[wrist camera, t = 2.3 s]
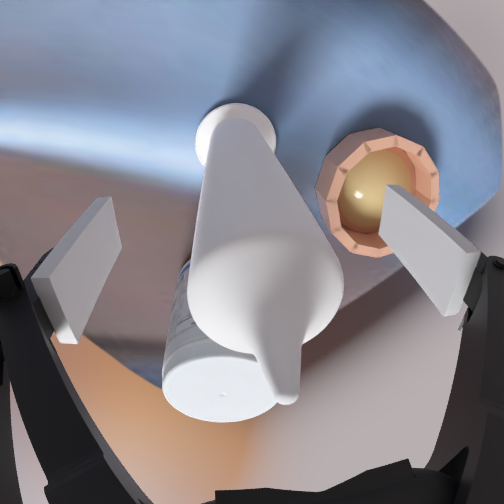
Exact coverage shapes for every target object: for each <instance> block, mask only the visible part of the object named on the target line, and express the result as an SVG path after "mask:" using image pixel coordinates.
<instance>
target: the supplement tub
mask: <svg viewBox="0 0 504 504" xmlns="http://www.w3.org/2000/svg"><path fill="white" fill-rule="evenodd" d="M190 263H191V259H190V260H189V261H188V262H187V263H186V264H185V265H184V266H183V268H182V269H181V271H180V274H179V276H178V281H177V285H176V291H175V296H174V301H173V306H172V312H171V318H170V324H169V330H168V336H167V342H166V348H165V354H164V362H163V369H162V377H163V383H162V389H163V393H164V396H165V397H166V399H167V401H168V402H169V403H170V404H171V405H172V406H173V407H174V408H176V409H177V410H179V411H180V412H182V413H184V414H186V415H188V416H190V417H193V418H196V419H200V420H205V421H211V422H235V421H241V420H245V419H249V418H252V417H255V416H258V415H260V414H262V413H264V412H266V411H267V410H269V409H270V408H271V407H273V406H274V405H275V404H276V403H277V401H276V400H275V398H274V396H273V394H272V392H271V390H270V388H269V385H268V383H267V381H266V379H265V377H264V375H263V372H262V370H261V368H260V366H259V364H258V362H257V359H256V357H255V356H254V355H253V354H249V353H242V352H238V351H234V350H231V349H228V348H226V347H223V346H221V345H220V344H218V343H216V342H215V341H213V340H212V339H210V338H209V337H208V336H207V335H206V334H205V333H204V332H203V331H202V330H201V329H200V328H199V327H198V326H197V324H196V323H195V321H194V319H193V317H192V315H191V312H190V309H189V305H188V300H187V286H188V278H189V270H190Z"/></svg>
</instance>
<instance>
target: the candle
mask: <svg viewBox="0 0 504 504" xmlns="http://www.w3.org/2000/svg"><path fill="white" fill-rule="evenodd" d="M195 148H196V153H197V156H198V158H199V160H200V162H201V164H202V165H203V166H204V167H205V170H204V176H203V182H202V188H201V194H200V201H199V207H198V213H197V220H196V227H195V234H194V241H193V248H192V255H191V263H190V270H189V278H188V286H187V300H188V305H189V309H190V312H191V315H192V317H193V319H194V321H195V323H196V324H197V326H198V327H199V328H200V329H201V330H202V331H203V332H204V333H205V334H206V335H207V336H208V337H209V338H210V339H212V340H213V341H215V342H216V343H218V344H220V345H221V346H223V347H226V348H228V349H231V350H234V351H238V352H242V353H249V354H253V355H254V356H255V357H256V359H257V362H258V364H259V366H260V368H261V370H262V372H263V375H264V377H265V379H266V381H267V383H268V385H269V388H270V390H271V392H272V394H273V396H274V398H275V400H276V401H277V402H278V403H280V404H283V405H288V404H292V403H294V402H295V401H296V400H297V399H298V396H299V387H300V367H301V346H302V344H303V343H305V342H307V341H308V340H310V339H312V338H313V337H315V336H316V335H317V334H318V333H320V332H321V331H322V330H323V329H324V328H325V327H326V326H327V325H328V324H329V322H330V321H331V320H332V318H333V317H334V315H335V314H336V312H337V310H338V308H339V306H340V303H341V300H342V297H343V291H344V277H343V272H342V267H341V265H340V262H339V260H338V258H337V256H336V254H335V252H334V251H333V249H332V247H331V245H330V244H329V242H328V240H327V239H326V237H325V235H324V233H323V232H322V230H321V228H320V227H319V225H318V223H317V222H316V220H315V218H314V217H313V215H312V213H311V212H310V210H309V208H308V207H307V205H306V203H305V202H304V200H303V199H302V197H301V195H300V194H299V192H298V190H297V189H296V187H295V186H294V184H293V182H292V181H291V179H290V178H289V176H288V175H287V173H286V171H285V170H284V168H283V167H282V165H281V164H280V162H279V160H278V159H277V157H276V156H275V154H274V153H275V149H276V134H275V130H274V127H273V125H272V123H271V122H270V120H269V119H268V118H267V116H266V115H265V114H263V113H262V112H261V111H260V110H258V109H257V108H255V107H253V106H250V105H247V104H242V103H230V104H225V105H222V106H219V107H217V108H215V109H214V110H212V111H211V112H210V113H208V114H207V115H206V116H205V118H204V119H203V120H202V121H201V123H200V125H199V127H198V129H197V132H196V137H195Z"/></svg>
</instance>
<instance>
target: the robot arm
mask: <svg viewBox="0 0 504 504" xmlns="http://www.w3.org/2000/svg"><path fill="white" fill-rule="evenodd" d="M378 235H379V236H380V237H381V238H382V239H383V240H384V242H385V243H386V244H387V245H388V246H389V248H390V249H391V250H392V251H393V252H394V254H395V255H396V256H397V257H398V258H399V260H400V261H401V262H402V263H403V265H404V266H405V267H406V268H407V269H408V271H409V272H410V273H411V275H412V276H413V277H414V278H415V280H417V282H418V284H419V285H420V286H421V287H422V289H423V290H424V291H425V293H426V294H427V295H428V297H429V298H430V299H431V301H432V302H433V303H434V305H435V306H436V307H437V309H438V310H439V311H440V313H441V314H442V316H443V317H445V316H449V315H454V314H458V312H459V310H460V307H461V305H462V303H463V301H464V302H465V303H466V304H467V306H468V308H467V311H466V313H465V315H464V317H463V320H462V322H461V324H460V326H459V328H458V330H461V328H462V327H463V331H462V338H461V344H460V350H459V356H458V361H457V366H456V371H455V375H454V380H453V384H452V389H451V393H450V397H449V401H448V405H447V409H446V412H445V416H444V420H443V423H442V426H441V430H440V433H439V436H438V439H437V442H436V445H435V448H434V451H433V454H432V456H431V458H430V460H429V462H428V463H427V465H426V466H425V468H412V467H411V465H410V462H409V459H405V460H402V461H398V462H395V463H392V464H388V465H385V466H382V467H378V468H375V469H370V470H367V471H365V472H363V473H361V474H359V475H357V476H355V477H353V478H351V479H349V480H347V481H345V482H343V483H340V484H338V485H336V486H334V487H332V488H330V489H327V490H325V491H322V492H305V491H291V490H281V489H271V488H259V489H243V490H221V491H220V490H219V491H218V490H217V491H215V500H213V501H209V502H205V503H202V504H504V259H503V258H501V257H497V256H489V257H486V256H485V255H484V254H483V253H482V252H481V251H480V250H479V249H478V248H476V246H474V245H473V244H472V243H471V242H470V241H469V240H468V239H466V238H465V237H464V236H463V235H462V234H461V233H459V232H458V231H457V230H456V229H455V228H453V227H452V226H451V225H450V224H449V223H447V222H446V221H445V220H444V219H443V218H441V217H440V216H439V215H438V214H436V213H435V212H434V211H433V210H431V209H430V208H429V207H428V206H426V205H425V204H424V203H422V202H421V201H420V200H419V199H417V198H416V197H415V196H413V195H412V194H411V193H409V192H408V191H407V190H405V189H404V188H403V187H401V186H400V185H386V189H385V196H384V203H383V209H382V216H381V222H380V228H379V233H378ZM121 249H122V245H121V241H120V237H119V232H118V227H117V223H116V218H115V213H114V208H113V202H112V197H111V196H109V197H100V198H96V199H95V201H94V202H93V203H92V204H91V205H90V206H89V207H88V208H87V209H86V211H85V212H84V213H83V214H82V215H81V216H80V217H79V218H78V220H77V221H76V222H75V223H74V224H73V225H72V227H71V228H70V229H69V230H68V231H67V232H66V234H65V235H64V236H63V237H62V238H61V240H60V241H59V242H58V243H57V245H56V246H55V247H54V248H52V249H51V250H49V251H48V252H47V253H45V254H44V255H43V256H42V257H41V259H40V260H39V261H38V263H37V264H36V265H35V266H34V268H33V269H32V270H31V271H30V273H29V274H28V275H27V277H26V278H25V279H24V281H23V280H22V277H21V275H20V272H19V270H18V267H17V266H16V264H12V263H10V264H5V265H2V266H0V504H23V502H22V498H21V493H20V488H19V483H18V477H17V471H16V464H15V457H14V448H13V440H12V429H11V414H10V382H11V385H12V388H13V392H14V395H15V399H16V402H17V404H18V408H19V411H20V414H21V417H22V420H23V422H24V425H25V428H26V430H27V433H28V436H29V438H30V441H31V443H32V446H33V448H34V451H35V453H36V455H37V458H38V460H39V462H40V465H41V467H42V469H43V471H44V473H45V475H46V478H47V480H48V485H47V486H45V487H44V491H45V495H46V498H47V500H48V503H49V504H153V503H152V501H151V500H150V499H149V498H148V497H147V496H146V495H145V494H144V492H143V491H142V490H141V489H140V487H139V486H138V485H137V484H136V483H135V481H134V480H133V478H132V477H131V476H130V474H129V473H128V472H127V471H126V469H125V468H124V466H123V465H122V464H121V462H120V461H119V459H118V458H117V457H116V455H115V454H114V452H113V451H112V449H111V448H110V446H109V445H108V443H107V442H106V440H105V439H104V437H103V436H102V434H101V433H100V431H99V430H98V428H97V426H96V425H95V423H94V421H93V420H92V418H91V416H90V415H89V413H88V411H87V409H86V408H85V406H84V404H83V403H82V401H81V399H80V397H79V395H78V394H77V392H76V390H75V388H74V386H73V384H72V382H71V380H70V378H69V376H68V374H67V373H66V371H65V369H64V367H63V364H62V362H61V360H60V358H59V356H58V354H57V352H56V350H55V348H54V345H53V343H52V342H51V340H50V338H51V336H52V334H53V332H55V334H56V336H57V338H58V339H59V341H60V343H70V344H78V343H79V340H80V338H81V335H82V333H83V330H84V328H85V326H86V323H87V321H88V319H89V316H90V314H91V312H92V310H93V307H94V305H95V303H96V301H97V299H98V296H99V294H100V292H101V290H102V288H103V286H104V283H105V281H106V279H107V277H108V275H109V273H110V271H111V269H112V267H113V265H114V263H115V261H116V259H117V257H118V255H119V253H120V251H121Z"/></svg>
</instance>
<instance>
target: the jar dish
mask: <svg viewBox="0 0 504 504" xmlns="http://www.w3.org/2000/svg"><path fill="white" fill-rule="evenodd" d="M386 185H400V186H401V187H403V188H404V189H405V190H407V191H408V192H409V193H411V194H412V195H413V196H415V197H416V198H417V199H419V200H420V201H421V202H422V203H424V204H425V205H426V206H428V207H429V208H430V209H431V210H433V211H434V212H435V209H436V207H437V205H438V203H439V172H438V170H437V168H436V166H435V165H434V163H433V161H432V160H431V158H430V156H429V155H428V153H427V152H426V150H425V148H424V147H423V146H421V145H419V144H417V143H415V142H413V141H410V140H408V139H406V138H403V137H401V136H399V135H396V134H394V133H391V132H389V131H387V130H384V129H382V128H374V129H369V130H364V131H360V132H355V133H351V134H348V135H347V136H346V137H345V138H344V139H343V140H342V141H341V142H340V143H339V144H338V145H337V146H336V147H334V148H333V149H332V150H331V151H330V152H329V153H328V154H327V155H326V156H325V158H324V161H323V164H322V167H321V170H320V174H319V177H318V180H317V183H316V186H315V190H316V194H317V199H318V204H319V209H320V214H321V217H322V219H323V220H324V222H325V223H326V225H327V227H328V228H329V230H330V231H331V233H332V234H333V235H334V236H335V237H336V238H337V239H338V240H339V241H340V242H341V243H342V244H343V245H344V246H345V247H346V248H347V249H348V250H349V251H350V252H351V253H356V254H361V255H366V256H371V257H376V258H379V257H382V256H385V255H388V254H391V253H394V252H393V251H392V250H391V249H390V248H389V246H388V245H387V244H386V243H385V242H384V240H383V239H382V238H381V237H380V236H379V235H378V233H379V228H380V222H381V216H382V209H383V203H384V196H385V189H386ZM344 226H345V227H344Z"/></svg>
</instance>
